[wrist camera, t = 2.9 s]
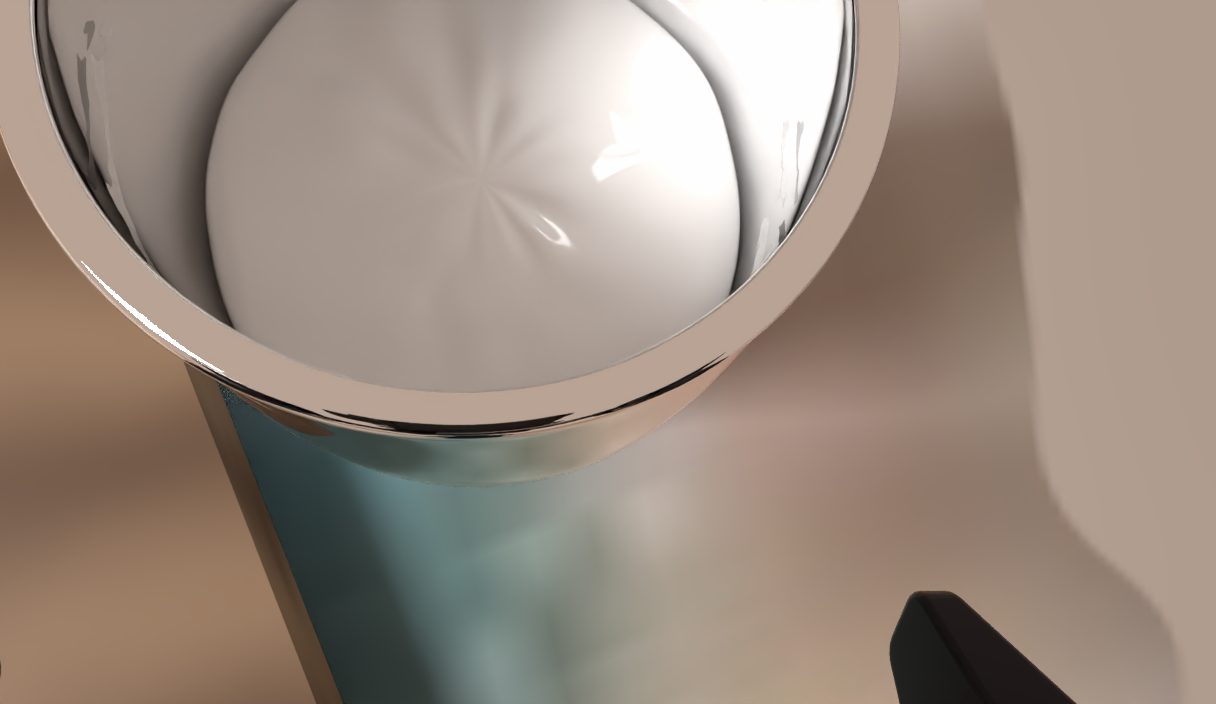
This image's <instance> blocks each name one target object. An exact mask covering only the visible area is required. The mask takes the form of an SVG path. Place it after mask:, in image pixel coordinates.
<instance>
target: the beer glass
mask: <svg viewBox="0 0 1216 704" xmlns="http://www.w3.org/2000/svg"><path fill="white" fill-rule="evenodd" d="M899 57H900V19H899V7H898V0H0V135H1V138H2V141H3V144H4V146H5V149H6V151H7V154H8V156H9V158H10V161H11V163H12V166H13V168H14V170H15V172H16V174H17V176H18V178H19V180H20V182H21V184H22V186H23V188H24V190H25V192H26V194H27V195H28V197H29V199H30V201H31V202H32V204H33V206H34V208H35V210H36V211H37V213H38V214H39V216H40V217H41V219H42V221H43V222H44V224H45V225H46V227H47V228H48V230H49V232H50V233H51V234H52V236H53V237H54V238H55V240H56V241H57V243H58V244H59V245H60V247H61V248H62V250H63V251H64V252H65V253H66V255H67V256H68V257H69V258H70V260H71V261H72V262H73V264H74V265H75V266H76V267H77V269H78V270H79V271H80V272H81V273H82V274H83V275H84V276H85V278H86V279H87V280H88V281H89V282H90V283H91V284H92V285H93V287H94V288H95V289H96V290H97V291H98V292H99V293H100V294H101V295H102V296H103V297H104V298H105V299H106V300H107V301H108V302H109V303H110V304H111V305H112V306H114V307H115V308H116V309H117V310H118V311H119V312H120V313H121V314H122V315H123V316H124V317H126V318H127V319H128V320H129V321H130V322H131V323H132V324H134V325H135V326H136V327H137V328H139V329H140V330H141V331H142V332H143V333H145V334H146V335H147V336H148V337H150V338H151V339H152V340H154V341H155V342H157V343H158V344H159V345H161V346H162V347H163V348H165V349H166V350H167V351H169V352H170V353H172V354H173V355H175V356H176V357H178V358H179V359H181V360H182V361H184V362H185V363H187V364H188V365H190V366H192V367H194V368H195V369H197V370H199V371H200V372H202V373H204V374H206V375H207V376H209V377H211V378H213V379H215V380H216V381H218V382H219V383H220V384H222V385H223V386H224V387H226V388H227V389H228V390H230V391H231V392H233V393H234V394H235V395H237V396H238V397H239V398H241V399H242V400H244V401H245V402H246V403H248V404H249V405H251V406H252V407H253V408H255V409H256V410H257V411H259V412H260V413H262V414H263V415H264V416H266V417H267V418H269V419H270V420H272V421H273V422H275V423H276V424H278V425H279V426H281V427H282V428H284V429H286V430H288V431H289V432H291V433H293V434H294V435H296V436H298V437H300V438H302V439H304V440H306V441H308V442H310V443H311V444H313V445H316V446H318V447H320V448H322V449H324V450H326V451H328V452H330V453H332V454H334V455H336V456H338V457H340V458H343V459H345V460H347V461H349V462H352V463H354V464H357V465H359V466H362V467H364V468H367V469H370V470H373V471H376V472H379V473H382V474H386V475H389V476H393V477H397V478H401V479H405V480H410V481H415V482H420V483H426V484H434V485H441V486H453V487H495V486H507V485H516V484H523V483H529V482H535V481H539V480H544V479H548V478H552V477H556V476H560V475H563V474H566V473H570V472H573V471H576V470H579V469H581V468H584V467H587V466H589V465H592V464H594V463H597V462H599V461H601V460H603V459H606V458H608V457H610V456H612V455H614V454H616V453H618V452H620V451H622V450H623V449H625V448H627V447H629V446H631V445H632V444H634V443H636V442H637V441H639V440H640V439H642V438H644V437H645V436H647V435H648V434H649V433H651V432H652V431H654V430H655V429H657V428H658V427H659V426H661V425H662V424H663V423H665V422H666V421H667V420H669V419H670V418H671V417H673V416H674V415H675V414H677V413H678V412H679V411H681V410H682V409H683V408H685V407H686V406H687V405H688V404H689V403H691V402H692V401H693V400H694V399H695V398H697V397H698V396H699V395H700V394H701V393H702V392H703V391H704V390H705V389H706V388H707V387H708V386H709V385H711V384H712V382H713V381H714V380H715V379H716V378H717V377H718V376H719V375H720V374H721V373H722V372H723V371H724V370H725V369H726V368H727V367H728V366H729V365H730V364H731V363H732V362H733V361H734V359H735V358H736V357H737V356H738V355H739V354H740V353H741V352H742V351H743V350H744V349H745V348H746V347H747V345H748V344H749V343H750V342H751V341H752V340H753V339H755V338H756V337H757V336H758V335H759V334H761V333H762V332H763V331H764V330H765V329H767V328H768V327H769V326H770V325H771V324H772V323H773V322H774V321H775V320H776V319H777V318H778V317H779V316H781V315H782V314H783V313H784V312H785V311H786V310H787V309H788V308H789V306H790V305H791V304H792V303H793V302H794V301H795V300H796V299H797V298H798V297H799V296H800V295H801V294H802V292H803V291H804V290H805V289H806V288H807V287H808V285H809V284H810V283H811V282H812V281H813V280H814V278H815V277H816V276H817V274H818V273H819V272H820V271H821V269H822V268H823V267H824V265H825V264H826V263H827V261H828V260H829V258H830V257H831V255H832V254H833V252H834V251H835V250H836V248H837V247H838V245H839V243H840V242H841V240H842V239H843V237H844V235H845V234H846V232H847V230H848V229H849V227H850V225H851V223H852V221H853V220H854V218H855V216H856V214H857V212H858V210H859V208H860V206H861V204H862V202H863V200H864V198H865V195H866V193H867V191H868V189H869V186H870V184H871V182H872V179H873V177H874V174H875V172H876V169H877V166H878V163H879V160H880V157H881V154H882V151H883V148H884V144H885V141H886V138H887V134H888V130H889V126H890V122H891V118H892V113H893V107H894V102H895V96H896V88H897V80H898V69H899Z"/></svg>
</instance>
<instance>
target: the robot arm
mask: <svg viewBox="0 0 1216 704" xmlns="http://www.w3.org/2000/svg"><path fill="white" fill-rule="evenodd" d="M889 654H890V662H891V667H892V672H893V676H894V681H895V685H896V689H897V694H898V698H899V703H900V704H1076V703H1075V702H1074V701H1073V700H1072V699H1071V698H1070V697H1069V696H1068V695H1066V694H1065V693H1064V692H1063V691H1062V690H1061V689H1060V688H1059V687H1058V686H1057V685H1055V684H1054V683H1053V682H1052V681H1051V680H1050V679H1049V678H1048V677H1047V676H1046V675H1045V674H1043V673H1042V672H1041V671H1040V670H1039V669H1038V668H1037V667H1036V666H1035V665H1034V664H1033V663H1031V662H1030V661H1029V660H1028V659H1027V658H1026V657H1025V656H1024V655H1023V654H1022V653H1020V652H1019V651H1018V650H1017V649H1016V648H1015V647H1014V646H1013V645H1012V644H1011V643H1010V642H1008V641H1007V640H1006V639H1005V638H1004V637H1003V636H1002V635H1001V634H1000V633H999V632H998V631H996V630H995V629H994V628H993V627H992V626H991V625H990V624H989V623H988V622H987V621H985V620H984V619H983V618H982V617H981V616H980V615H979V614H978V613H977V612H976V611H975V610H973V609H972V608H971V607H970V606H969V605H968V604H967V603H966V602H965V601H964V600H962V599H961V598H960V597H959V596H957V595H956V594H954V593H952V592H949V591H917V592H915V593H913V594H912V595H911V596H910V597H909V598H908V600H907V602H906V605H905V607H904V609H903V612H902V614H901V617H900V619H899V621H898V624H897V626H896V628H895V631H894V633H893V635H892V638H891V642H890V653H889ZM0 677H1V663H0Z"/></svg>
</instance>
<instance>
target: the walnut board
mask: <svg viewBox="0 0 1216 704" xmlns="http://www.w3.org/2000/svg"><path fill="white" fill-rule="evenodd" d="M0 663H1V677H0V704H343V702H342V699H341V696H340V694H339V691H338V689H337V686H336V684H335V681H334V679H333V676H332V673H331V671H330V668H329V666H328V663H327V661H326V658H325V656H324V653H323V650H322V648H321V645H320V643H319V640H318V638H317V635H316V633H315V630H314V628H313V625H312V622H311V620H310V617H309V615H308V612H307V610H306V607H305V605H304V602H303V599H302V597H301V594H300V592H299V589H298V587H297V584H296V582H295V579H294V576H293V574H292V571H291V569H290V566H289V564H288V561H287V559H286V556H285V554H284V551H283V548H282V546H281V543H280V541H279V538H278V536H277V533H276V531H275V528H274V525H273V523H272V520H271V518H270V515H269V513H268V510H267V508H266V505H265V502H264V500H263V497H262V495H261V492H260V490H259V487H258V485H257V482H256V480H255V477H254V474H253V472H252V469H251V467H250V464H249V462H248V459H247V457H246V454H245V451H244V449H243V446H242V444H241V441H240V439H239V436H238V434H237V431H236V428H235V426H234V423H233V421H232V418H231V416H230V413H229V411H228V408H227V405H226V403H225V400H224V398H223V395H222V393H221V390H220V388H219V385H218V383H217V381H216V380H215V379H213V378H211V377H209V376H207V375H206V374H204V373H202V372H200V371H199V370H197V369H195V368H194V367H192V366H190V365H188V364H187V363H185V362H184V361H182V360H181V359H179V358H178V357H176V356H175V355H173V354H172V353H170V352H169V351H167V350H166V349H165V348H163V347H162V346H161V345H159V344H158V343H157V342H155V341H154V340H152V339H151V338H150V337H148V336H147V335H146V334H145V333H143V332H142V331H141V330H140V329H139V328H137V327H136V326H135V325H134V324H132V323H131V322H130V321H129V320H128V319H127V318H126V317H124V316H123V315H122V314H121V313H120V312H119V311H118V310H117V309H116V308H115V307H114V306H112V305H111V304H110V303H109V302H108V301H107V300H106V299H105V298H104V297H103V296H102V295H101V294H100V293H99V292H98V291H97V290H96V289H95V288H94V287H93V285H92V284H91V283H90V282H89V281H88V280H87V279H86V278H85V276H84V275H83V274H82V273H81V272H80V271H79V270H78V269H77V267H76V266H75V265H74V264H73V262H72V261H71V260H70V258H69V257H68V256H67V255H66V253H65V252H64V251H63V250H62V248H61V247H60V245H59V244H58V243H57V241H56V240H55V238H54V237H53V236H52V234H51V233H50V232H49V230H48V228H47V227H46V225H45V224H44V222H43V221H42V219H41V217H40V216H39V214H38V213H37V211H36V210H35V208H34V206H33V204H32V202H31V201H30V199H29V197H28V195H27V194H26V192H25V190H24V188H23V186H22V184H21V182H20V180H19V178H18V176H17V174H16V172H15V170H14V168H13V166H12V163H11V161H10V158H9V156H8V154H7V151H6V149H5V146H4V144H3V141H2V138H1V135H0Z"/></svg>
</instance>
